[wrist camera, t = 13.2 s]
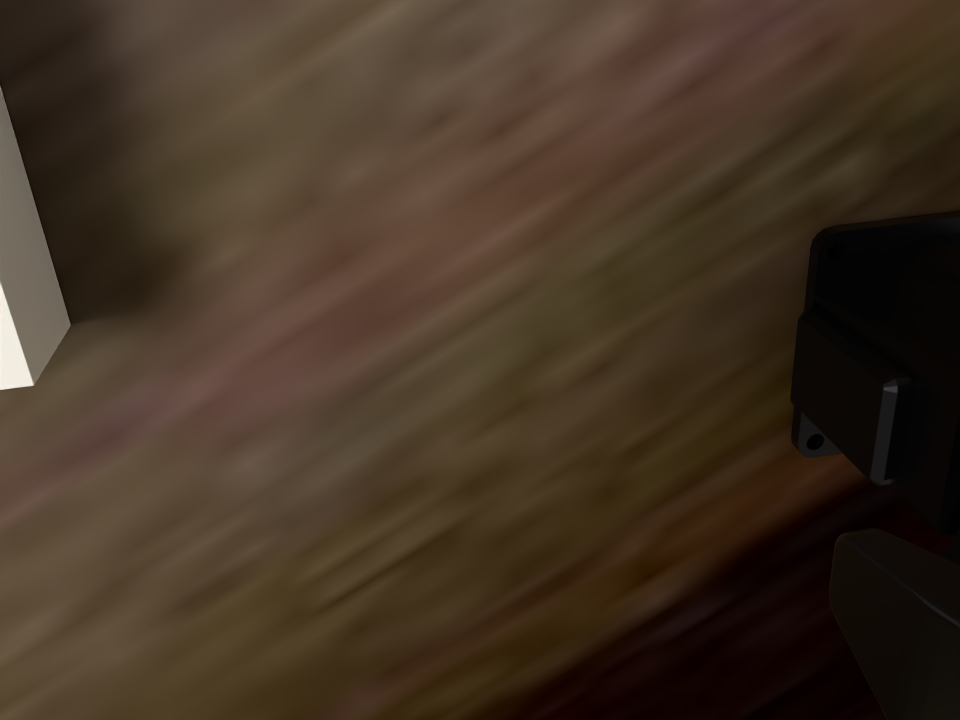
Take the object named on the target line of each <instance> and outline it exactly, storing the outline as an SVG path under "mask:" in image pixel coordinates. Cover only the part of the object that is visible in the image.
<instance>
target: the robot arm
mask: <svg viewBox="0 0 960 720" xmlns="http://www.w3.org/2000/svg"><path fill="white" fill-rule="evenodd" d="M837 241H839V246H838V249H837V251H836V252H835V253H834V254H831V255H829V256H828V250H829V247H830V246H831V245H832V244H833V243H835V242H837ZM790 398H791V402H792V403H793V404H794V415H793V425H792V435H791V439H792V444H793V445H794V446H795V448H796V449H797V450H798V451H799V452H800V453H801V454H802V455H803V456H806V457H820V456H826V455H833V454H840V453H843V454H844V455H845V456H846V457H847V458H848V459H849V460H850V461H851V462H852V463H853V464H854V465H855V466H856V467H857V468H858V469H859V470H860V471H861V472H862V473H863V474H864V475H865V476H866V477H867V478H868V479H869V480H871V481H872V482H873V483H874V484H876V485H877V486H882V485H888V484H890V485H891V486H892V487H893V488H894V489H895V490H896V491H897V492H898V493H899V494H900V495H901V496H902V497H903V498H904V499H905V500H906V501H907V502H908V503H909V504H910V505H911V506H912V507H913V508H914V509H915V510H916V511H917V512H918V513H919V514H921V515H922V516H923V517H924V518H925V519H926V520H927V521H928V522H929V523H930V524H931V525H932V526H933V527H934V528H935V529H936V530H937V531H938V532H939V533H940V534H942V535H953V534H957V535H956V537H955V539H954V541H953V543H952V545H951V546H950V548H949V550H948V552H947V554H946V556H945V558H942V557H940V556H938V555H936V554H933V553H931V552H929V551H927V550H925V549H923V548H920V547H918V546H916V545H914V544H912V543H909V542H907V541H905V540H903V539H901V538H898V537H896V536H894V535H892V534H890V533H887V532H885V531H883V530H880V529H876V528H869V529H864V530H858V531H853V532H847V533H844V534H842V535H840V536H839V537H838V539H837V541H836V543H835V548H834V556H833V563H832V571H831V579H830V587H829V601H830V606H831V609H832V612H833V615H834V617H835V619H836V621H837V623H838V625H839V627H840V629H841V631H842V633H843V634H844V636H845V638H846V640H847V642H848V644H849V646H850V648H851V650H852V652H853V654H854V656H855V658H856V660H857V662H858V664H859V666H860V668H861V670H862V672H863V674H864V675H865V677H866V679H867V681H868V683H869V685H870V687H871V689H872V691H873V693H874V695H875V697H876V699H877V701H878V703H879V705H880V707H881V709H882V711H883V713H884V715H885V716H886V718H887V720H960V211H958V212H949V213H941V214H933V215H924V216H916V217H908V218H900V219H891V220H883V221H875V222H866V223H858V224H850V225H841V226H833V227H829V228H826V229H823V230H822V231H821V232H819V233H818V234H817V235H816V237H815V238H814V240H813V241H812V245H811V248H810V258H809V268H808V278H807V287H806V297H805V307H804V311H803V313H802V314H801V316H800V317H799V319H798V327H797V337H796V347H795V357H794V367H793V377H792V387H791V397H790ZM815 434H817V435H816V437H815V438H814V439H813V440H812V441H810V442H808V443H807V441H808V439H809V438H810V437H811V436H812V435H815Z"/></svg>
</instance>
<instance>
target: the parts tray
mask: <svg viewBox="0 0 960 720" xmlns="http://www.w3.org/2000/svg"><path fill="white" fill-rule="evenodd" d="M70 326H71V324H70V321H69V317H68V314H67V310H66V307H65V304H64V300H63V297H62V293H61V290H60V287H59V283H58V280H57V276H56V273H55V270H54V266H53V263H52V259H51V256H50V253H49V249H48V246H47V242H46V239H45V236H44V232H43V229H42V225H41V222H40V219H39V215H38V212H37V208H36V205H35V202H34V198H33V195H32V191H31V188H30V185H29V181H28V178H27V174H26V171H25V168H24V164H23V161H22V157H21V154H20V151H19V147H18V144H17V140H16V137H15V134H14V130H13V127H12V123H11V120H10V117H9V113H8V110H7V106H6V103H5V100H4V96H3V93H2V89H1V86H0V390H2V389H10V388H17V387H25V386H33V385H34V384H35V383H36V381H37V379H38V378H39V376H40V375H41V373H42V371H43V370H44V368H45V367H46V365H47V363H48V362H49V360H50V359H51V357H52V355H53V354H54V352H55V350H56V349H57V347H58V346H59V344H60V342H61V341H62V339H63V338H64V336H65V334H66V333H67V331H68V329H69V328H70Z"/></svg>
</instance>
